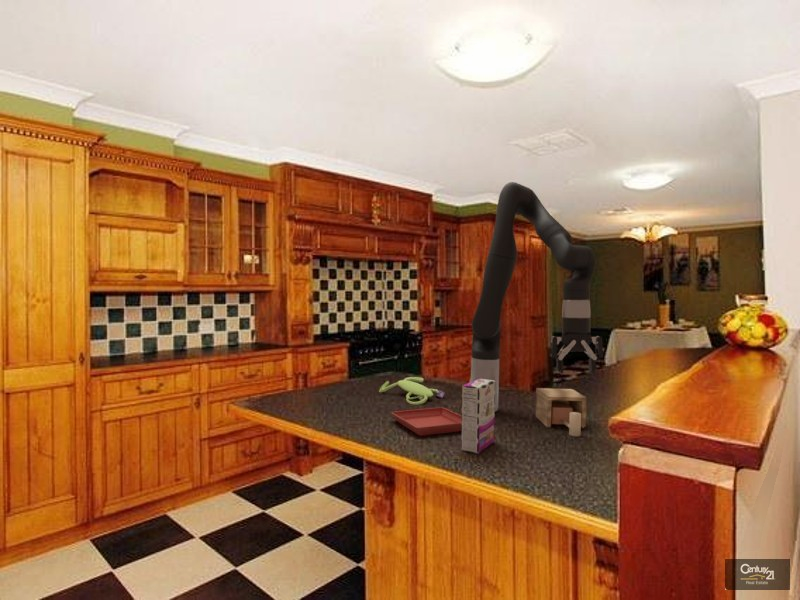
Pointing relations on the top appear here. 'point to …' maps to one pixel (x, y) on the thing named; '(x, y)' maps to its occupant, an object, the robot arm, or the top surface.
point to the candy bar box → (478, 415)
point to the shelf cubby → (558, 396)
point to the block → (566, 417)
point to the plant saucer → (429, 420)
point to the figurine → (413, 389)
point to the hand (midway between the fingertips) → (576, 373)
